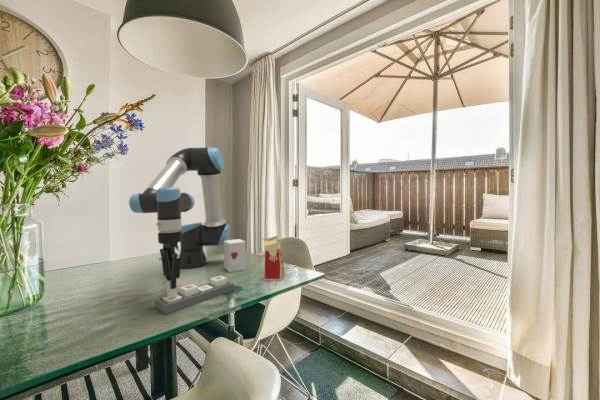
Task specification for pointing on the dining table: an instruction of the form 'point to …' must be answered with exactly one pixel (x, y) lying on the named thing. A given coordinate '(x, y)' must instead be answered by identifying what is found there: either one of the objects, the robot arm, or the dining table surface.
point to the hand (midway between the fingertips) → (172, 296)
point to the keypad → (192, 298)
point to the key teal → (172, 299)
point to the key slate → (218, 281)
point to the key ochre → (205, 288)
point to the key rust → (189, 290)
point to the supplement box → (234, 255)
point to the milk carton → (273, 260)
